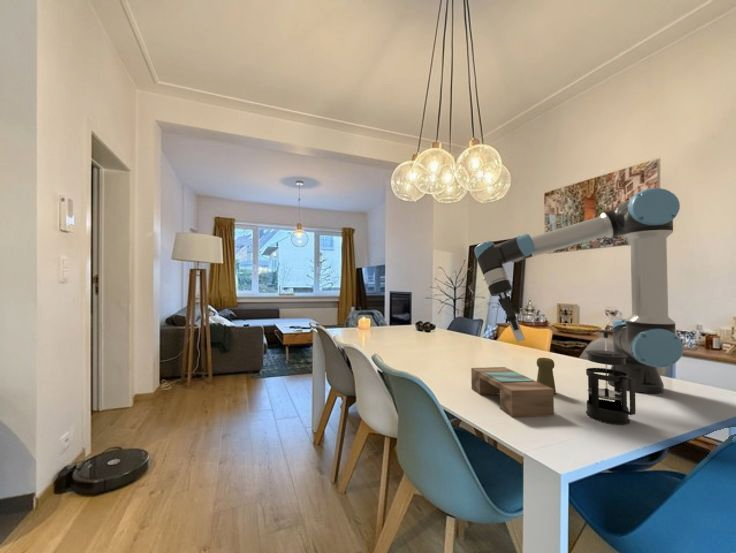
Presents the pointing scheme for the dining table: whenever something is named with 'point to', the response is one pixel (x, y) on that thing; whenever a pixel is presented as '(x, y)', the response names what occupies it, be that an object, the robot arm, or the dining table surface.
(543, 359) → the cork
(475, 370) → the wooden block
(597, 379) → the french press
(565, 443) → the dining table surface
